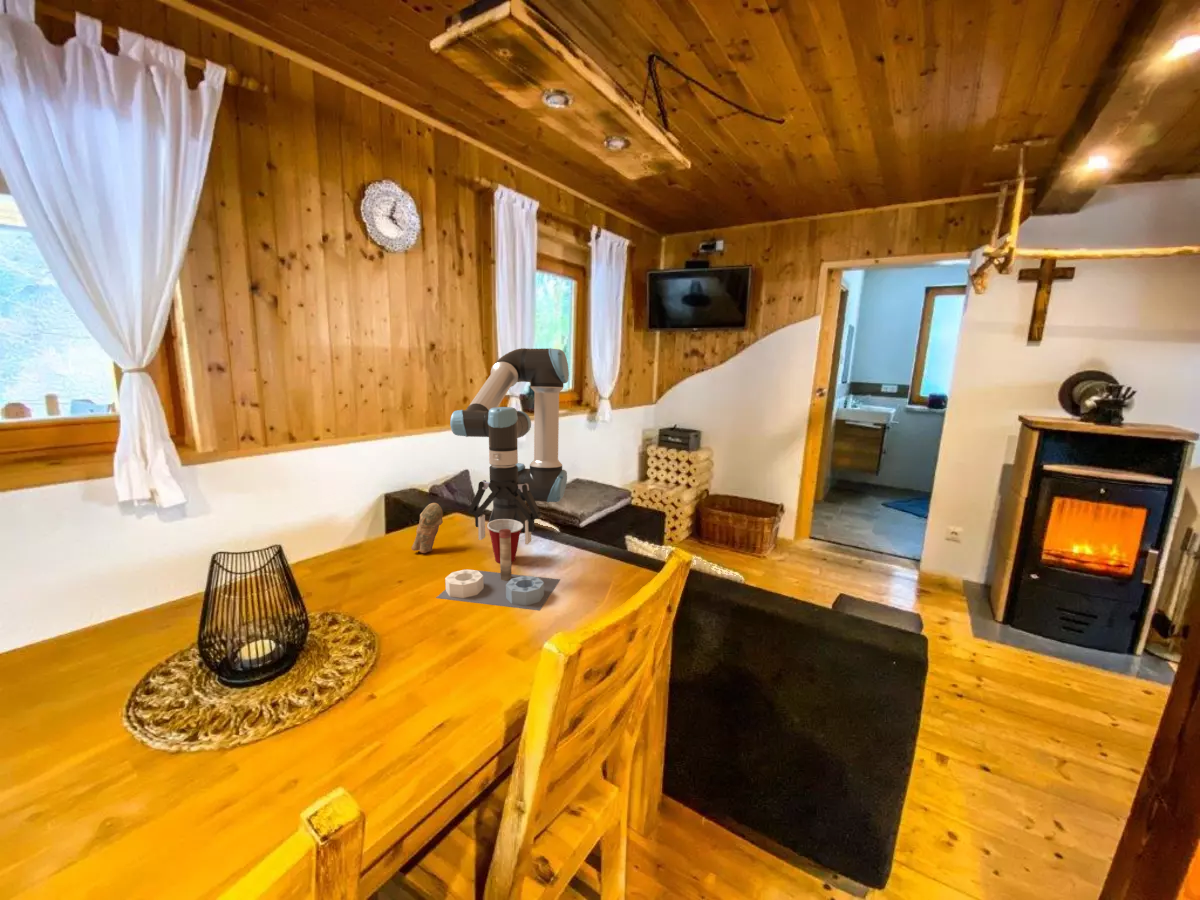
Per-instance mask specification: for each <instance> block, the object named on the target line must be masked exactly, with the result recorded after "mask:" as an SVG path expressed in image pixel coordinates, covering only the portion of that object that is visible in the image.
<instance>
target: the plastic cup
mask: <svg viewBox="0 0 1200 900" xmlns="http://www.w3.org/2000/svg"><path fill="white" fill-rule="evenodd" d="M486 525H487V526H486V527H487V529H488V532H489V536H490V541H491V544H492V545H491V546H492V551H493V555H494V560H495V562H496V563H497V564H500V537H499V531H500V530H502V529H510V530H511V564H512V563H514V562H515V560H516V558H517V557H516V556H517V551H518V548H519V547H518V546H519V541H520V535H521V533H522V532H521V530H522V528H523V524H522V523H521V522H519V521H516V520H511V519H498V520H493V521H490V522H489V521H488V523H487V524H486Z"/></svg>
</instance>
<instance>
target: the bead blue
mask: <svg viewBox="0 0 1200 900" xmlns="http://www.w3.org/2000/svg"><path fill="white" fill-rule="evenodd" d="M538 577H539V576H534V577H532V575H525V576H521V577H517V578H513V579H511V580H510V581H509V582H508V583H507V584H506V598H507V599H508V600H509V601H510V602H511V604H516V605H525V606H526V605H530V604H534V603H537V602H540V600H541V599H542V597H543V596H544V582H543V581H542V580H541V579H539V578H538Z"/></svg>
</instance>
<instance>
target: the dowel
mask: <svg viewBox="0 0 1200 900" xmlns="http://www.w3.org/2000/svg"><path fill="white" fill-rule="evenodd" d="M499 537H500V563H499V565H500V566H499V567H500V573H501V580H503V581H508V580H510V579H511V578H512V563H511V530H510V529H502V530H500V531H499Z"/></svg>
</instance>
